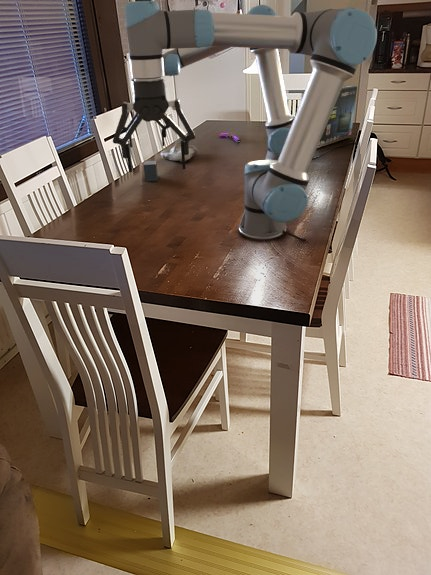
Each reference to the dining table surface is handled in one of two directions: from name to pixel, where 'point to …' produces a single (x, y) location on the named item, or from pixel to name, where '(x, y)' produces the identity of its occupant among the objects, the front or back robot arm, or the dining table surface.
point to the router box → (340, 115)
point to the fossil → (178, 153)
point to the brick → (150, 171)
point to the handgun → (232, 138)
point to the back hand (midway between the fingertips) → (147, 146)
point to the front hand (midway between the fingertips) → (157, 169)
